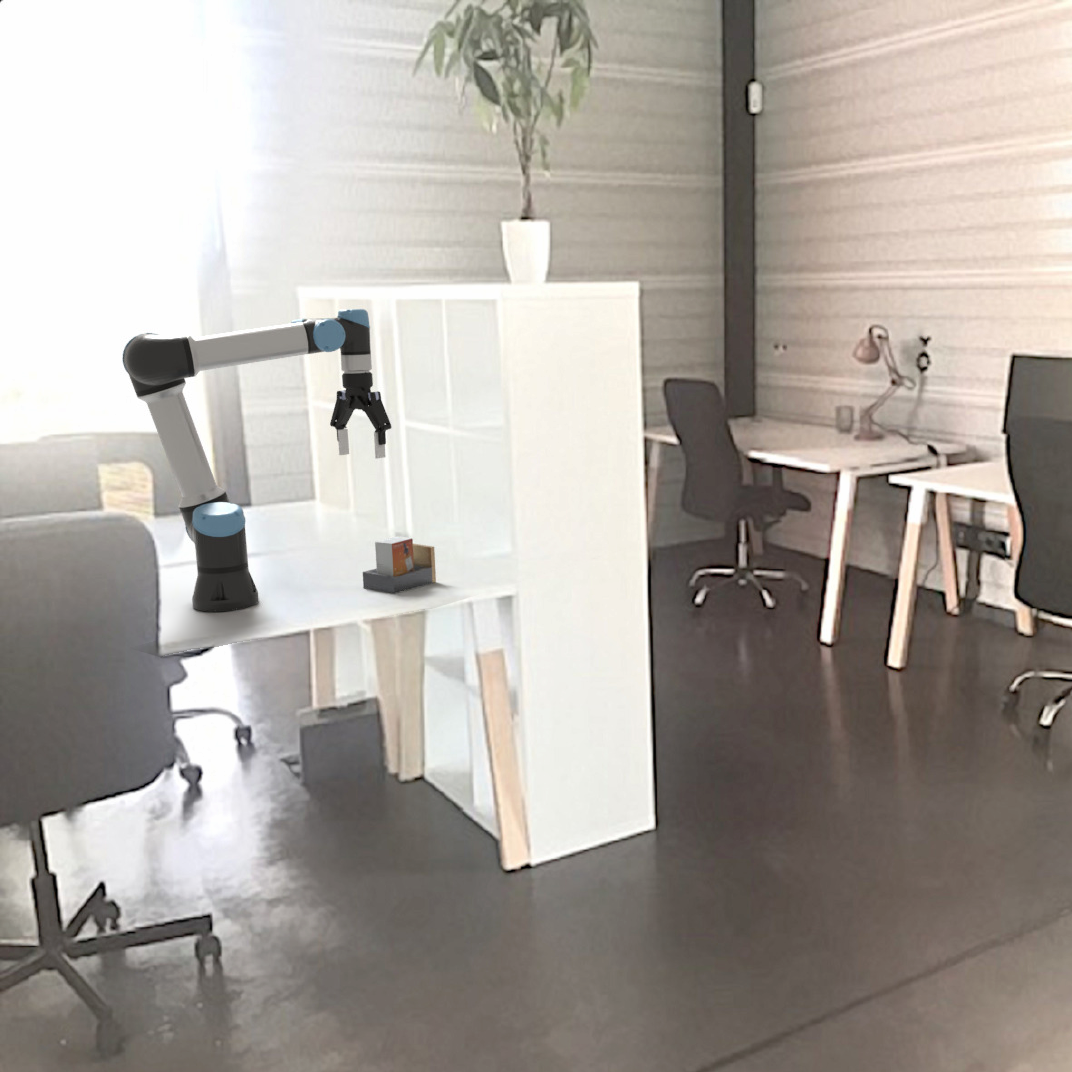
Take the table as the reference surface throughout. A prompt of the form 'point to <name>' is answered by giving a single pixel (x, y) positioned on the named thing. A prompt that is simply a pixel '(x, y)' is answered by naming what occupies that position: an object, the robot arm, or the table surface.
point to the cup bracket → (406, 581)
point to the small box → (394, 556)
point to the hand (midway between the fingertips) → (362, 456)
